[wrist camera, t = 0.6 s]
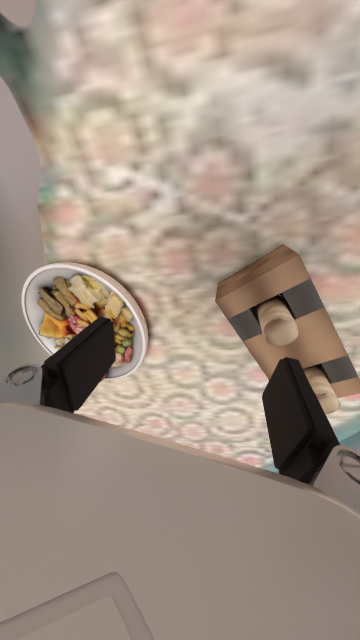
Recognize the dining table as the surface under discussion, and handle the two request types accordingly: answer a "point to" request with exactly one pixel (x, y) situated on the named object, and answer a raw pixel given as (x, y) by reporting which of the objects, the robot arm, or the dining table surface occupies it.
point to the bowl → (84, 311)
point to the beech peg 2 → (322, 389)
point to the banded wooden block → (304, 306)
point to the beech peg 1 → (276, 322)
